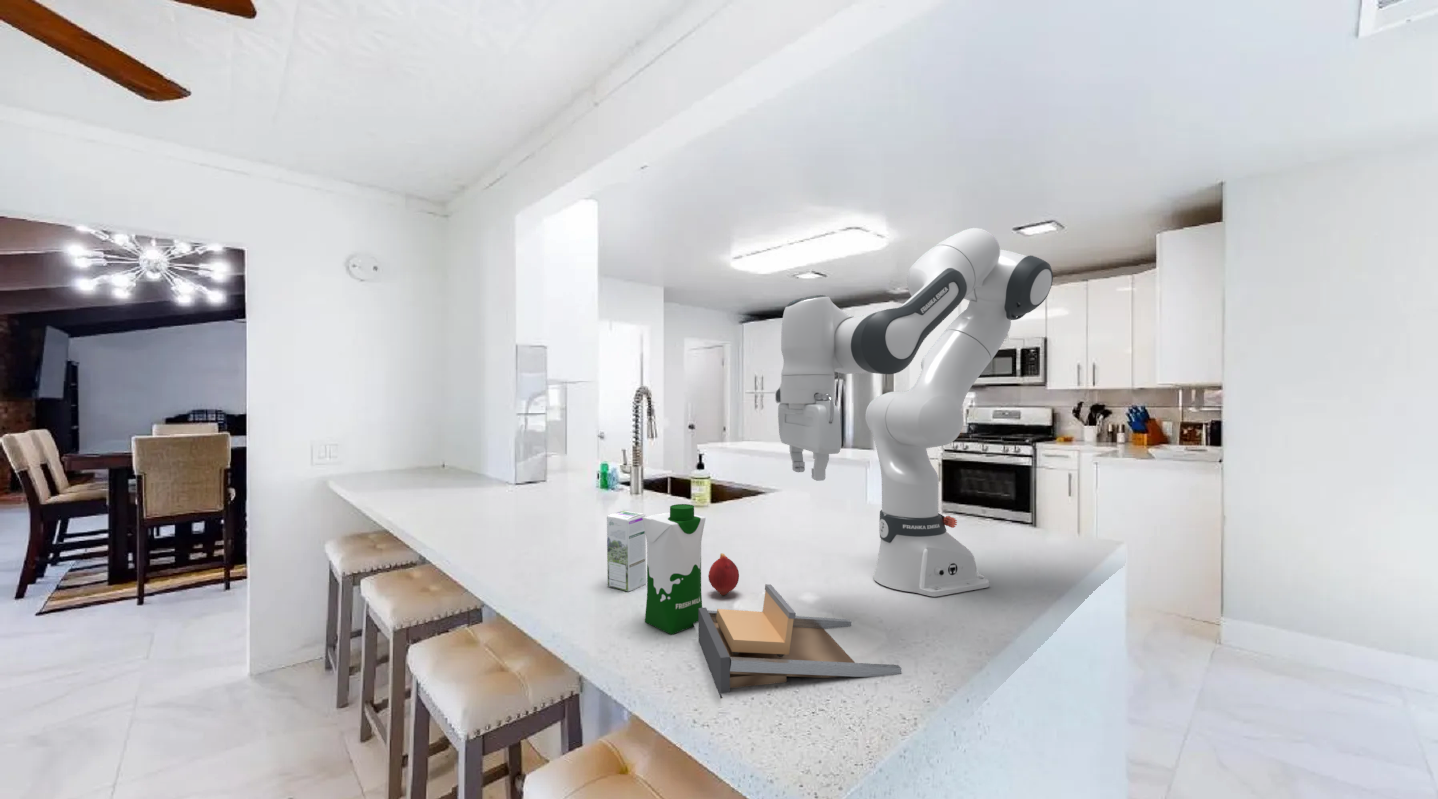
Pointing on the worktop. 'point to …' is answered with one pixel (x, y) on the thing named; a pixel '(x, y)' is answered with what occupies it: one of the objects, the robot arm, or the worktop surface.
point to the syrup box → (626, 550)
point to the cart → (759, 626)
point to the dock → (806, 656)
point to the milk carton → (673, 568)
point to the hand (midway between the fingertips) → (808, 475)
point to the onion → (723, 575)
